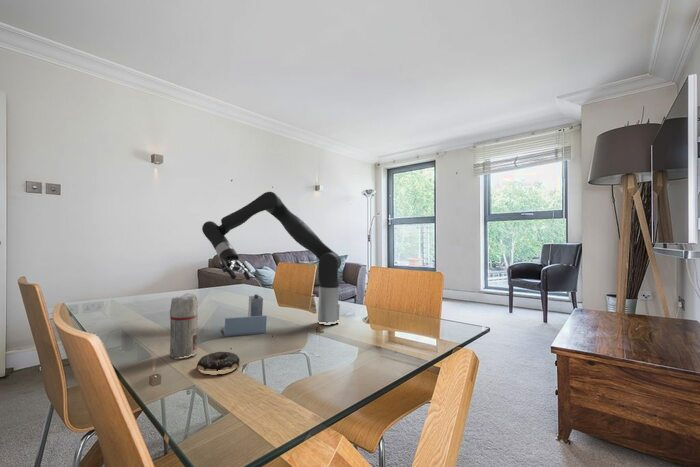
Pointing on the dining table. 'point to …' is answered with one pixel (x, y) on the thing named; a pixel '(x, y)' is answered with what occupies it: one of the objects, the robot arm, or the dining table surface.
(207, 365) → the donut
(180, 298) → the spray can
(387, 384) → the dining table surface
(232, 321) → the bracket
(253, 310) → the block
